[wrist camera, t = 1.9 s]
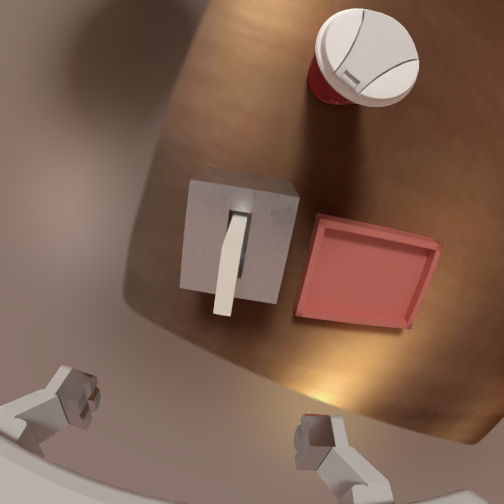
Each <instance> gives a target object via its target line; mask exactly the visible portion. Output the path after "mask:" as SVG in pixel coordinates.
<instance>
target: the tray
mask: <svg viewBox="0 0 504 504" xmlns="http://www.w3.org/2000/svg"><path fill="white" fill-rule="evenodd" d="M442 248H443V245H442V244H441V243H440V242H438V241H437V240H436V239H434V238H431V237H427V236H422V235H418V234H414V233H410V232H405V231H401V230H396V229H392V228H388V227H383V226H378V225H374V224H369V223H365V222H360V221H355V220H350V219H345V218H340V217H335V216H330V215H325V214H320V213H316V216H315V221H314V225H313V229H312V234H311V238H310V242H309V246H308V251H307V255H306V259H305V263H304V267H303V271H302V275H301V279H300V283H299V287H298V290H297V294H296V298H295V302H294V311H295V316H299V317H307V318H314V319H322V320H329V321H338V322H346V323H354V324H363V325H372V326H382V327H392V328H402V329H411V327H412V324H413V322H414V320H415V318H416V315H417V313H418V311H419V309H420V306H421V304H422V301H423V299H424V297H425V294H426V292H427V289H428V287H429V284H430V281H431V279H432V276H433V273H434V271H435V268H436V265H437V262H438V260H439V257H440V254H441V251H442Z"/></svg>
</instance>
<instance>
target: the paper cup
mask: <svg viewBox="0 0 504 504" xmlns="http://www.w3.org/2000/svg"><path fill="white" fill-rule="evenodd" d="M315 49H316V52H315V54H314V57H313V59H312V62H311V65H310V67H309V71H308V77H307V79H308V85H309V87H310V89H311V91H312V93H313V94H314V95H315V96H316V97H317V98H318V99H320V100H321V101H323V102H325V103H328V104H334V105H344V104H360V105H364V106H369V107H384V106H388V105H392V104H394V103H396V102H398V101H400V100H401V99H403V98H404V97H405V96H406V95H407V94H408V93H409V92H410V90H411V89H412V87H413V85H414V83H415V81H416V77H417V74H418V70H419V60H417V59H418V55H417V51H416V48H415V45H414V42H413V41H412V39H411V37H410V35H409V33H408V32H407V30H406V29H405V28H404V27H403V26H402V25H401V24H400V23H399V22H398V21H396V20H395V19H393V18H392V17H390V16H387V15H385V14H382V13H379V12H375V11H371V10H366V9H349V10H344V11H341V12H338V13H336V14H335V15H333V16H331V17H330V18H329V19H328V20H327V21H326V22H325V23H324V24H323V25H322V27H321V29H320V31H319V33H318V36H317V39H316V46H315Z"/></svg>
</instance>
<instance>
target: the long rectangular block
mask: <svg viewBox="0 0 504 504" xmlns="http://www.w3.org/2000/svg"><path fill="white" fill-rule="evenodd" d="M247 218H248V213H246V212H240V211H234V214H233V217H232V220H231V223H230V225H229V228H228V231H227V234H226V237H225V239H224V242H223V245H222V251H221V258H220V265H219V273H218V280H217V288H216V295H215V303H214V311H213V314H219V315H225V316H231V310H232V305H233V299H234V293H235V288H236V282H237V277H238V271H239V265H240V260H241V254H242V248H243V242H244V236H245V230H246V224H247Z"/></svg>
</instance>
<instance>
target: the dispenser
mask: <svg viewBox="0 0 504 504" xmlns="http://www.w3.org/2000/svg"><path fill="white" fill-rule="evenodd" d="M299 199H300V197H299V195H298V193H297V192H296V190H295V188H294V186H293V184H292V182H291V181H290V180H285V179H279V178H274V177H268V176H263V175H257V174H251V173H245V172H238V171H232V170H226V169H219V168H212V167H208V168H206V169H205V170H204V171H202V172H201V173H199V174H198V175H196V176H195V177H193V178H192V179H191V180H190V185H189V194H188V202H187V212H186V221H185V231H184V242H183V253H182V265H181V278H180V288H184V289H190V290H195V291H201V292H206V293H212V294H216V288H217V280H218V273H219V265H220V258H221V251H222V245H223V242H224V239H225V237H226V234H227V231H228V228H229V225H230V223H231V220H232V217H233V214H234V211H240V212H246V213H248V218H247V224H246V230H245V236H244V242H243V248H242V254H241V260H240V265H239V271H238V277H237V282H236V288H235V293H234V297H235V298H241V299H247V300H254V301H260V302H266V303H273V304H276V303H277V299H278V294H279V290H280V286H281V281H282V277H283V272H284V268H285V264H286V259H287V255H288V250H289V246H290V241H291V236H292V232H293V227H294V223H295V218H296V213H297V208H298V204H299Z"/></svg>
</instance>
